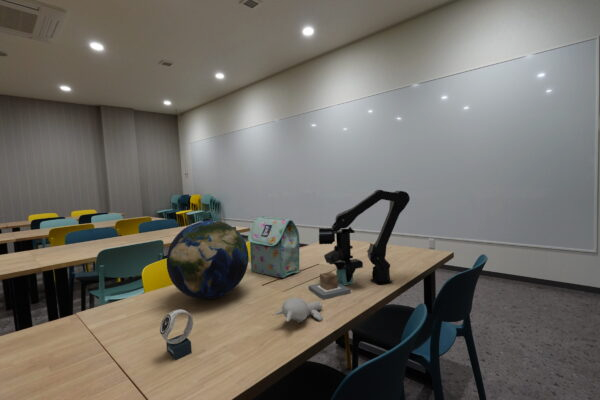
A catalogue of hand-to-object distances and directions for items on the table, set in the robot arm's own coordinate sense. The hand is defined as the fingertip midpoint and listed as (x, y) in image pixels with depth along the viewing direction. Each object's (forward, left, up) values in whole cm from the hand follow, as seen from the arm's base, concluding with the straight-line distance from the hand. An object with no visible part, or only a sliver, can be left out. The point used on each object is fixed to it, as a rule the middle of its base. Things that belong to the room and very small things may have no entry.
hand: (344, 280), depth 124 cm
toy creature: (+30, +22, -1) cm, 37 cm away
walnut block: (+10, +5, +1) cm, 12 cm away
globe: (+52, -14, -1) cm, 54 cm away
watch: (+65, +22, -1) cm, 69 cm away
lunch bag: (+20, -30, -1) cm, 36 cm away
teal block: (0, 0, -1) cm, 1 cm away
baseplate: (+10, +5, -1) cm, 12 cm away
